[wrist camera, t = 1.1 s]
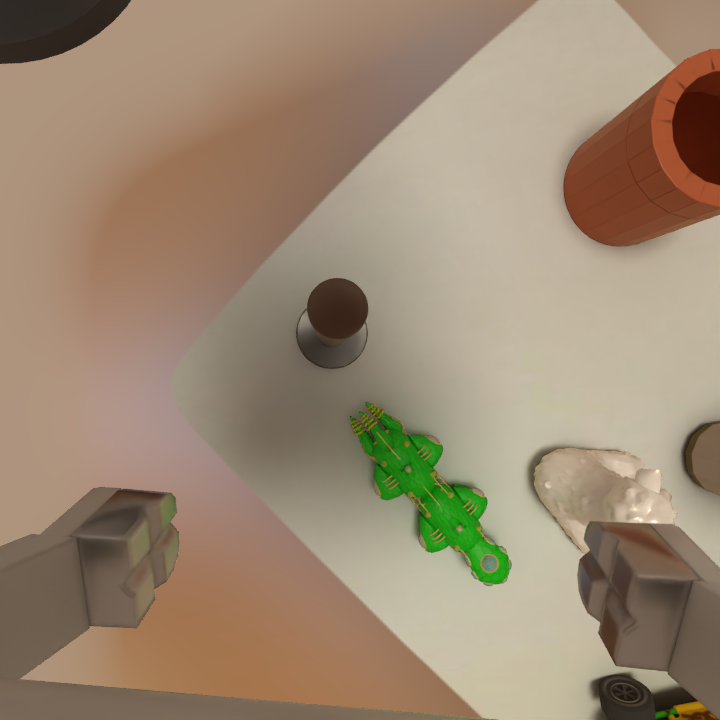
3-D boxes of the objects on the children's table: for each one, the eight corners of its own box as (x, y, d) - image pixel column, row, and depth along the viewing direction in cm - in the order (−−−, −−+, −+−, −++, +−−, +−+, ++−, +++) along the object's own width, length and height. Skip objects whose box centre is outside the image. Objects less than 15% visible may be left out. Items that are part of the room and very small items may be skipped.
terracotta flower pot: (546, 155, 40) (628, 81, 29) (649, 113, 41) (767, 25, 30) (589, 263, 41) (686, 231, 30) (690, 220, 41) (822, 172, 30)
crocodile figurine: (463, 590, 40) (479, 618, 36) (327, 432, 39) (327, 442, 35) (520, 538, 41) (543, 560, 36) (386, 381, 40) (394, 384, 35)
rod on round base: (290, 318, 39) (230, 265, 15) (348, 294, 39) (379, 204, 15) (315, 376, 39) (295, 413, 15) (372, 352, 39) (440, 350, 16)
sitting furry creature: (587, 554, 41) (694, 637, 29) (502, 510, 40) (576, 576, 28) (636, 458, 41) (763, 501, 29) (552, 413, 41) (646, 438, 29)
